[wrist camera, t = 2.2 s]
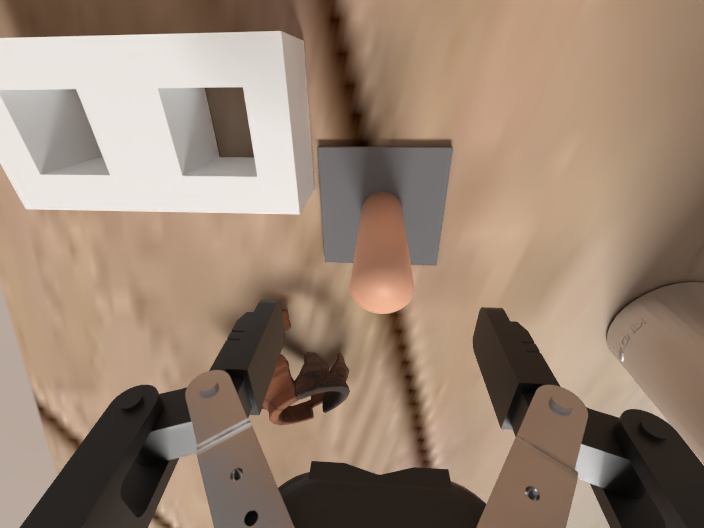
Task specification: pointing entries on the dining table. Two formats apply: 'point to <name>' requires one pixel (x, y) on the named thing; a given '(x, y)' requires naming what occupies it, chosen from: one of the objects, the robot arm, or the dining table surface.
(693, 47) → the dining table surface
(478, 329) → the robot arm
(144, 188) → the socket block
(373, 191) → the mat
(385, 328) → the dining table surface
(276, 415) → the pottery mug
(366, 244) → the dowel
